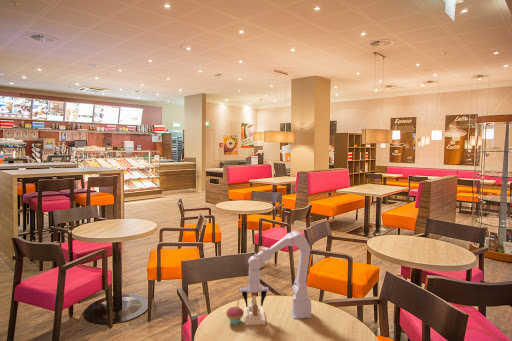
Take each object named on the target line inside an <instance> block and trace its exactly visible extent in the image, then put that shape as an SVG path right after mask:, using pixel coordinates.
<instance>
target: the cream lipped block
mask: <svg viewBox="0 0 512 341" xmlns="http://www.w3.org/2000/svg"><path fill="white" fill-rule="evenodd" d="M243 306H244V307H243V311H244V312H243V317H244V325H245V326H253V325H254V326H256V325H266V317H265V312H264V308H263V307H264V306H261V307H260V306H259V304H258V303H257V316H253V312H252V306H251V303H250V304H248V307H246V303H245V302H244V305H243Z"/></svg>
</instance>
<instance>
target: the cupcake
mask: <svg viewBox="0 0 512 341" xmlns="http://www.w3.org/2000/svg"><path fill="white" fill-rule="evenodd" d="M239 303H240V299H237V303H236V306H231V307H230V308H228V309H227V310H226V312H225V313H226V317H227V318H228V320H229V321H230V324H232V325H238V324H240V322H241V319H242V317H244V309H242V308H241V307H239Z"/></svg>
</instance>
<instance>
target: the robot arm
mask: <svg viewBox="0 0 512 341" xmlns="http://www.w3.org/2000/svg"><path fill="white" fill-rule="evenodd" d="M294 246H295V247H297V248H298V249H299V257H298V264H297V265H298V266H297V271H296V272H297V273H296V278H295V279H294V282H293V284H292V286H291V291H292V292H293V295H292V309H290V313H291V315H292V318H293V319H295V320H297V319H311V318H312V299H311V298H310V297H309V293H308V284H307V278H308V277H307V276H308V271H309V270H308V269H309V263H310V255H311V246H310V244H309V242H308V239H307V238H306V237H305V236H304V235H303V234H302V233H301V232H300V231H298V230H297V229H293V230H291V231H290V232H288V233H286V235H285V236H283V237H282V238H281V239H279V240H278V241H277V242H275V243H274V244H273V245H271V246H270V247H262V248H261V251H258V252H257V253H255V254H253V255H251V256H250V257H249V258H248V260H247V263H248V265H249V266H248V286H245V287H240V288H239V294H242V298H243V299H244V301H245V302H244V303H246V307H247V308H249V304H248V293H260V306H261V307H264V306H263V305H264V301H265V298H266V297H267V293H269V287H268V286H261V282H260V281H261V278H260V277H261V274H260V273H261V272H260V268H262V267H261V266H262V265H263V264H265V263H266V262H267V261H269V260H271V259H272V258H273V256H274V254H275V253H277V252H279V251H280V250H282V249H283V248H285V247H294Z"/></svg>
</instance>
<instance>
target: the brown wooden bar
mask: <svg viewBox="0 0 512 341" xmlns="http://www.w3.org/2000/svg"><path fill="white" fill-rule="evenodd" d="M250 301H251V302H250V304H251V306H252V312H253V316H257V304H258V303H257V297H256V295H251V299H250Z"/></svg>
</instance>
